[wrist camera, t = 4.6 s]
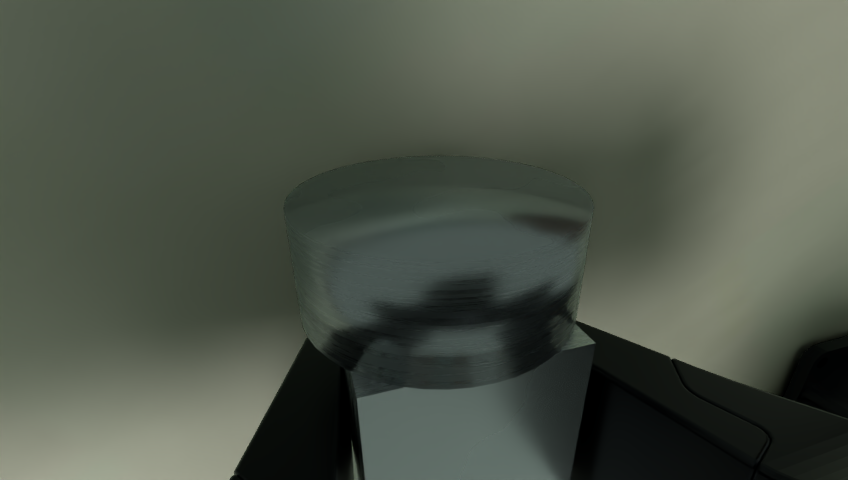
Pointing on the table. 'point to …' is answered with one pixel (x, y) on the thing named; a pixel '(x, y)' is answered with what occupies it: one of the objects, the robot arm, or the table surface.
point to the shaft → (448, 312)
